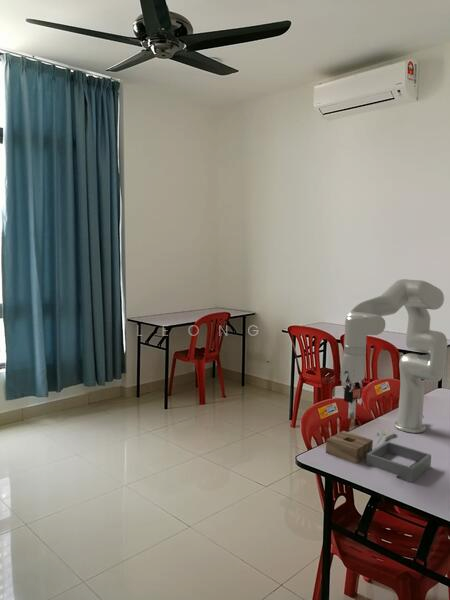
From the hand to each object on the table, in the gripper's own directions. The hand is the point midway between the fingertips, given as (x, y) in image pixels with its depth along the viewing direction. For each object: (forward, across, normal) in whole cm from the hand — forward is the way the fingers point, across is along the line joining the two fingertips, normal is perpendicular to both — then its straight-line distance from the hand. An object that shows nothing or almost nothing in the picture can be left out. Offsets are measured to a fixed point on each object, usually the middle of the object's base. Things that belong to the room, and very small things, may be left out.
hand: (352, 399), depth 172 cm
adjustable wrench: (+22, -19, +2) cm, 29 cm away
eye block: (+21, +1, 0) cm, 21 cm away
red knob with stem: (+7, 0, 0) cm, 7 cm away
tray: (+21, -4, +16) cm, 27 cm away
